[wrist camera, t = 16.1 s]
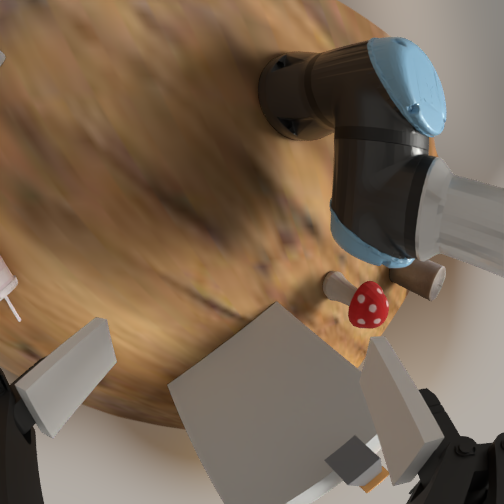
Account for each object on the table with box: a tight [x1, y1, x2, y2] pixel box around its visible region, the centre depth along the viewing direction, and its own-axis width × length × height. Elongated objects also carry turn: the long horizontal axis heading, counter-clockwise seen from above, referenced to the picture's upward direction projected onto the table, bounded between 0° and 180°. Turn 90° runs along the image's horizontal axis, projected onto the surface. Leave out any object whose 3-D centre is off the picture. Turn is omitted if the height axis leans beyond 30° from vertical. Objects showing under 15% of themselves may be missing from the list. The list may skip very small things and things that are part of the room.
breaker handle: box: [324, 435, 389, 493], centre depth 23 cm, size 26×5×5 cm, turn 28°
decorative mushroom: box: [323, 271, 389, 328], centre depth 50 cm, size 10×9×15 cm
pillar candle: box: [389, 259, 446, 301], centre depth 63 cm, size 10×10×15 cm
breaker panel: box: [167, 302, 381, 504], centre depth 40 cm, size 17×26×30 cm, turn 119°
